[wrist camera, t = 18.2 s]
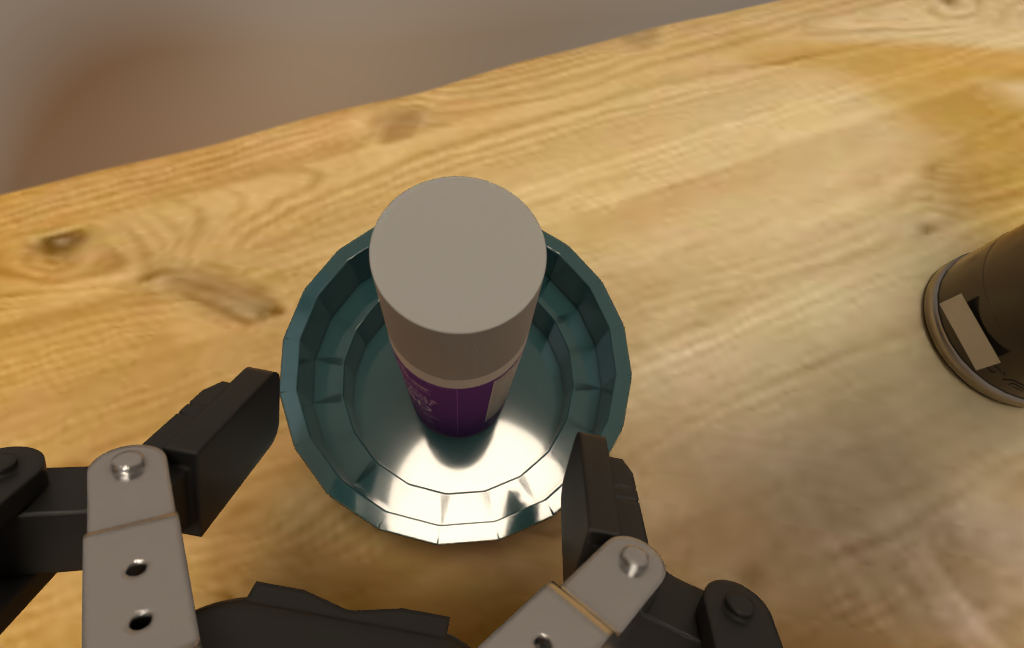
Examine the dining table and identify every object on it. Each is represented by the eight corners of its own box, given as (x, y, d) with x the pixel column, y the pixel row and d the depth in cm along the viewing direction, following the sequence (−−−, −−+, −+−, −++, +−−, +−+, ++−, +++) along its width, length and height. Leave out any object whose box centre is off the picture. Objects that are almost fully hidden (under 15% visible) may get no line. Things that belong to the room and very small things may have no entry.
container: (394, 414, 27) (326, 289, 13) (437, 333, 29) (418, 145, 15) (481, 455, 27) (506, 371, 13) (520, 370, 28) (579, 214, 15)
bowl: (480, 221, 32) (485, 156, 27) (652, 411, 29) (698, 382, 24) (259, 370, 28) (210, 330, 23) (433, 611, 25) (426, 634, 19)
